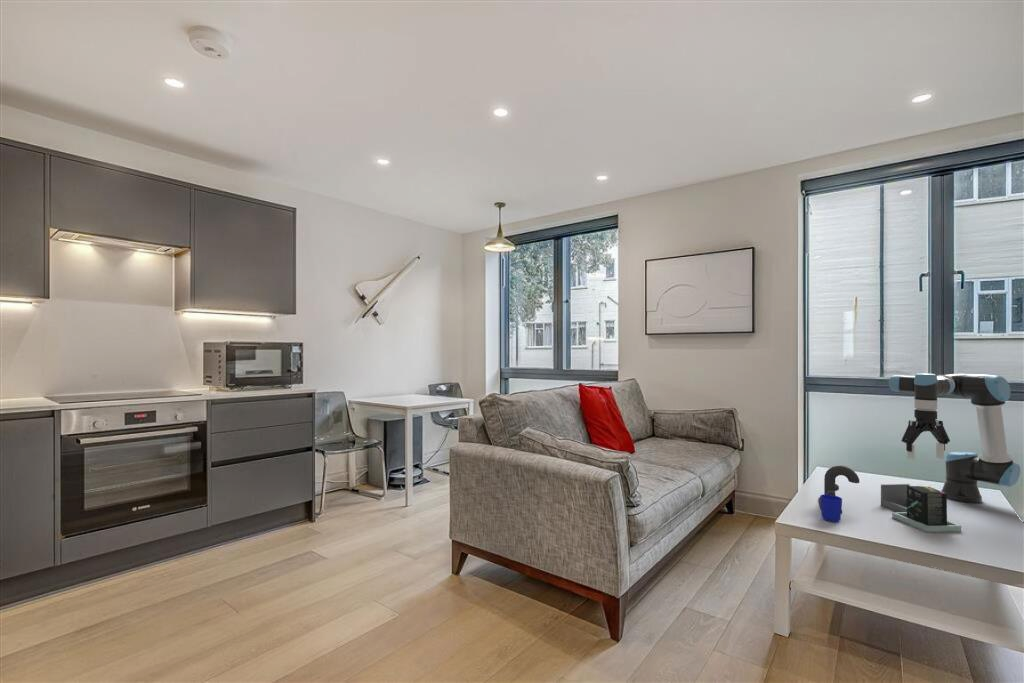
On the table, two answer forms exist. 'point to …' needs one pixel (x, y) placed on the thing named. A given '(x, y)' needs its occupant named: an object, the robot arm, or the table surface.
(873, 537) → the table surface
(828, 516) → the mug
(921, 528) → the tray
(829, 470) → the faucet
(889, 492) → the bay
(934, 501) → the dark grey box
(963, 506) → the table surface
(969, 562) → the table surface
